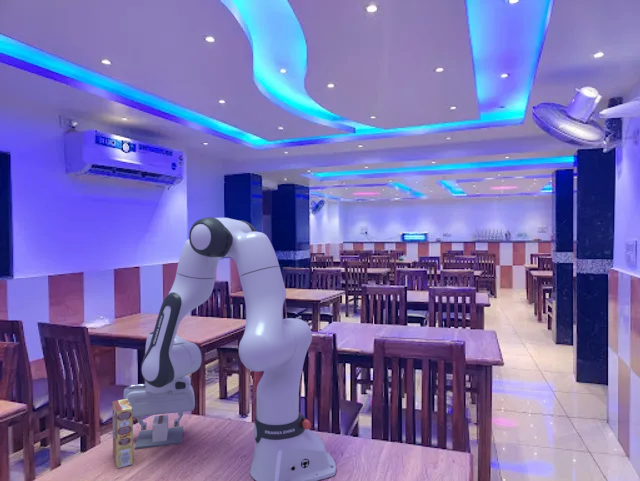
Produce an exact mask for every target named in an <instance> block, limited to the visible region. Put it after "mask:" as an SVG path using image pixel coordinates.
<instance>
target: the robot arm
mask: <svg viewBox="0 0 640 481" xmlns="http://www.w3.org/2000/svg"><path fill="white" fill-rule="evenodd" d="M223 258H231V259H232V260H233V261H234V263H235V265H236V268H237V273H238V277H239V280H240V284H241V290H242V294H243V297H244V303H245V317H246V318H245V327H244V332H243V334H242V338H241V339H240V341H239V345H238V357H239V359H240V361H241V363H242V364H243V365H244V367H245V368H246V369H248V370H249V371H251V372H263V374H262V376H261V378H260V380H259V381H258V383H257V386H256V415H255V416H254V417H255V418H254V424H253V426H254V428H253V432H254V433H253V434H254V441H255V442H254V451H253V456H252V457H253V458H252V462H251V465H250V469H249V474H250V477H251V478H252V479H253V480H255V481H320V480H323V479H327V478H331V477H334V476H335V475H336V473H337V464H336V462H335V460H334V458H333V457H332V455H331V454H330V453H329V452H328V451H327V448H326V445H325V443H324V441H323V440H322V438H321V437H320V436H319V435H318V434H316V433H315V432H313V431H312V430H311V429H310V428H311V427H312V424H311V422H310V420H309V419H307V418H306V416H305V415H304V414H303V413H301V411H299V410H300V407H299V406H300V398H299V397H300V394H299V393H300V385H301V384H300V382H301V377H302V373H303V368H304V365H305V364H304V363H305V358H306V356H307V353H308V349H309V348H310V347H311V346H310V345H311V344H312V340H313V333H312V332H313V331H312V329H311V327H310V325H309V324H308V323H307V322H306V321H304V320H303V319H300V318H293V317H289V318H284V314H283V313H284V310H283V309H284V303H285V300H286V298H287V290H286V287H285V282H284V279H283V275H282V271H281V270H282V269H281V266H280V264H279V259H278V257H277V254H276V252H275V249H274V247H273V244H272V242H271V240H270V239H269V237H268V236H267V234H265V233H264V232H260V231H257V229H256V228H255V226H254V225H252V224H251V223H250V222H248V221H246V220H242V219H241V220H240V219H238V220H237V219H233V218H229V217H213V216H208V217H203V218H200V219H198V220H196V221H194V223H193V224H192V226H191V227H190V229H189V233H188V239H186V241H185V242H184V244H183V247H182V249H181V252H180V255H179V258H178V262H177V268H176V273H175V278H174V281H173V283H172V286H171V289H170V290H169V292H168V293H167V295H166V296H165V298H164V299H163V301H162V302H161V306H160V308H159V312H158V316H157V319H156V322H155V326H154V328H153V331H152V332H150V333H149V334H148V335H147V337H146V342H145V350H144V356H143V358H142V361H141V363H140V364H141V366H140V374H141V376H142V378H143V380H144V383H139V384H130V385H128V386H127V387H125V388H124V389H123V399H128V401H129V403H130V405H131V406H132V408H133V418H136V421H137V422H138V424H139V425H140V431H145V430H148V429H147V428H148V426H147V425H148V424H147V422H144V420H143V417H146V416H147V417H149V416H159V415H169V414H176V413H177V414H178V415H177V418H175V419H173V420H174V421H173V426H174V427H180V421H181V419H182V417H183V416H184V413H186V412H192V411H194V409H195V408H196V407H195V406H196V404H195V403H196V400H195V392H194V388H193V386H192V385H191V383H192V382H191V381H192V379H191V377H190V376H189V375H191V374H193V373H195V372H197V371H199V369H200V368H201V367H202V364H203V363H202V362H203V353H202V350H201V348H200V347H199V345H198V344H197V343H195V342H194V341H188V340H186V339H184V338H182V337H181V336H179V335H178V334H177V333H178V328H179V325H180V324H181V321H183V319H184V318H185V317H186V316H187V315H188V314H189V313H191V311H193V310H195V309H196V308H197V307H199V306H201V305H203V304H204V303H206V301H208V300H209V298H210V297H211V296H212V292H213V290H214V286H215V283H216V276H217V269H218V264H219V262H220V260H222V259H223Z"/></svg>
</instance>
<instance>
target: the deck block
mask: <svg viewBox="0 0 640 481" xmlns="http://www.w3.org/2000/svg"><path fill="white" fill-rule="evenodd" d="M152 422H153V423H152V429H151V430H152V442H158V441H167V435H168V428H169V414H159V415H154V418H153V421H152Z"/></svg>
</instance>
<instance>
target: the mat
mask: <svg viewBox="0 0 640 481" xmlns="http://www.w3.org/2000/svg"><path fill="white" fill-rule="evenodd" d="M152 430H153V429H146V430H143V431H141V430H140V431H139V432H138V436H137V439H136V443H135V446H134V450H141V449H142V450H143V449H149V448H150V449H151V448H158V447H165V446H166V447H167V446H174V445H181V444H183V437H184V434H183V433H184V426H183V425H182V426H181V425H180V426H178V427H173V426H172V427H168V435H167V441H158V442H152Z"/></svg>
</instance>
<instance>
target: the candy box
mask: <svg viewBox="0 0 640 481" xmlns="http://www.w3.org/2000/svg"><path fill="white" fill-rule="evenodd" d="M133 420H134V417H133V408H132V406H131V405H130V403H129V401H128V399H124V398H123V399H118V400H113V401H112V456H113V460H114V462H115V465H116V468H117V469H122V468H124V467H128V466H132V465H134V434H133V433H134V427H133V425H134V422H133Z"/></svg>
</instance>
